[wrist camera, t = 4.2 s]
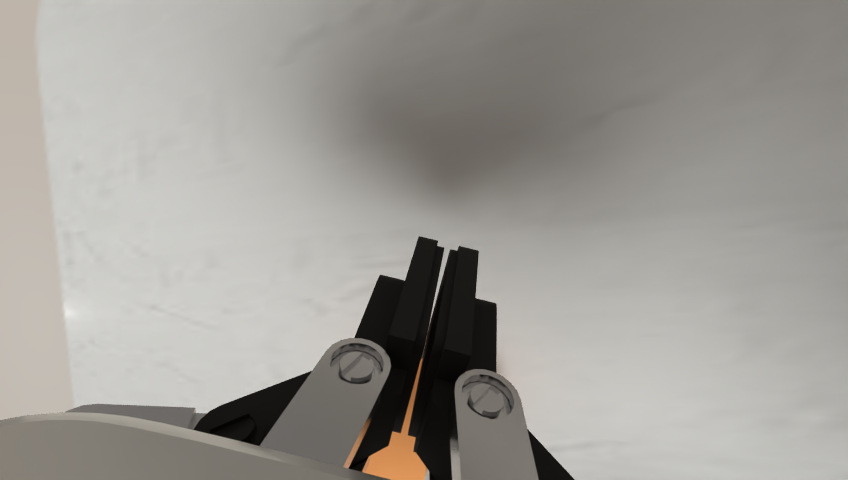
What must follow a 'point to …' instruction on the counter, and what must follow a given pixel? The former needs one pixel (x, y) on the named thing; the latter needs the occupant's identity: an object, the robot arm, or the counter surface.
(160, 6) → the counter surface
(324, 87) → the counter surface
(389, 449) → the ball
